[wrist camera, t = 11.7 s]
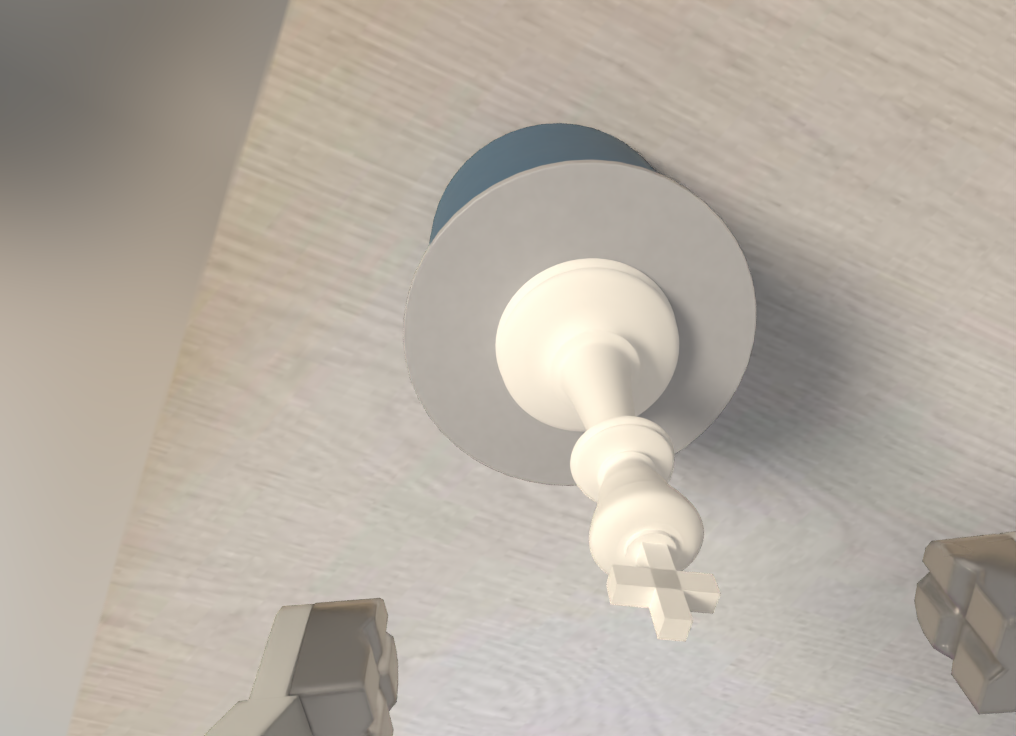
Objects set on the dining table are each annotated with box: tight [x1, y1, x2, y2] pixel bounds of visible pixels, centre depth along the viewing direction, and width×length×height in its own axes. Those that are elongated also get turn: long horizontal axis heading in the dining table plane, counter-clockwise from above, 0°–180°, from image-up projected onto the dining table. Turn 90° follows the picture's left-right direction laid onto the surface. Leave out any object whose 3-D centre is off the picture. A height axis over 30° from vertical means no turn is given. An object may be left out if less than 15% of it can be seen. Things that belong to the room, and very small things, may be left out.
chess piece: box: [495, 258, 721, 641], centre depth 15 cm, size 5×5×10 cm
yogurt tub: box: [403, 123, 756, 486], centre depth 23 cm, size 10×10×8 cm
